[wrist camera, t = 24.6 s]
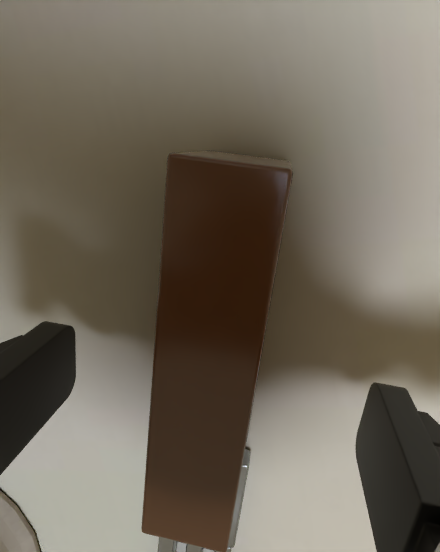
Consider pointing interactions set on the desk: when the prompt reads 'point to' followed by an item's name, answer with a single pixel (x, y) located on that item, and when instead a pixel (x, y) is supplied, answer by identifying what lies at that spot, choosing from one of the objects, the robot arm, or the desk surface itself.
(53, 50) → the desk surface
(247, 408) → the brown bar
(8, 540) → the mug
